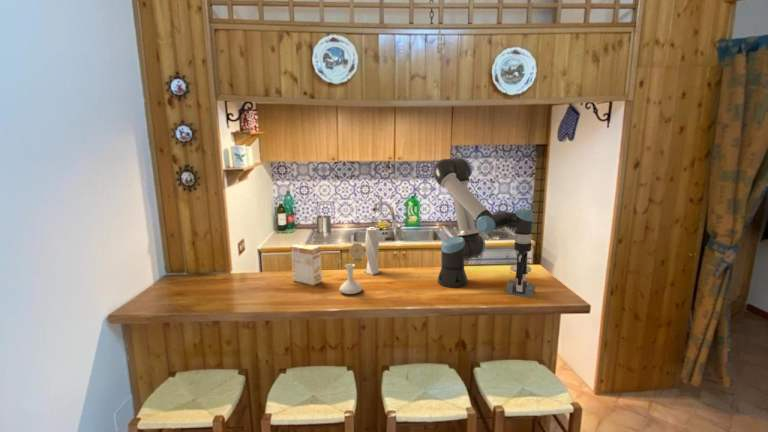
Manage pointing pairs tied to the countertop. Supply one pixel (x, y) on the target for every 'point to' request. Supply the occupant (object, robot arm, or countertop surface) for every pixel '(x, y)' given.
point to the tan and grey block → (524, 285)
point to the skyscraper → (372, 250)
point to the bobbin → (514, 268)
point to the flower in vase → (350, 284)
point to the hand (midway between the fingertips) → (520, 289)
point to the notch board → (512, 290)
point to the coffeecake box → (306, 263)
